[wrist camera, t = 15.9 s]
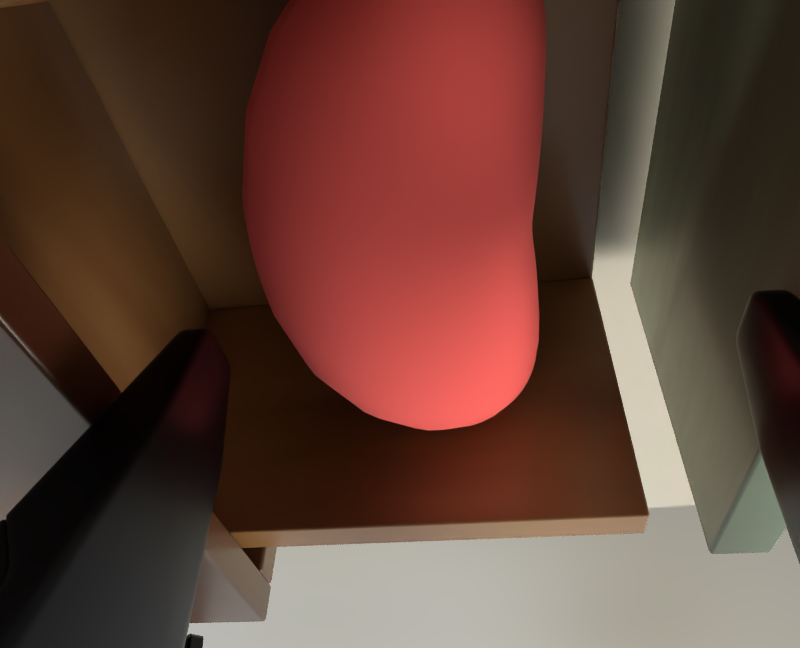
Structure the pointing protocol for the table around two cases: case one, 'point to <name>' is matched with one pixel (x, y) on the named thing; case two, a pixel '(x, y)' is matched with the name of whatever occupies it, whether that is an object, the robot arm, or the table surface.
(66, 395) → the cabinet
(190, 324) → the drawer
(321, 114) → the red bean-shaped piece
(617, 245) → the table surface
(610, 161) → the table surface
